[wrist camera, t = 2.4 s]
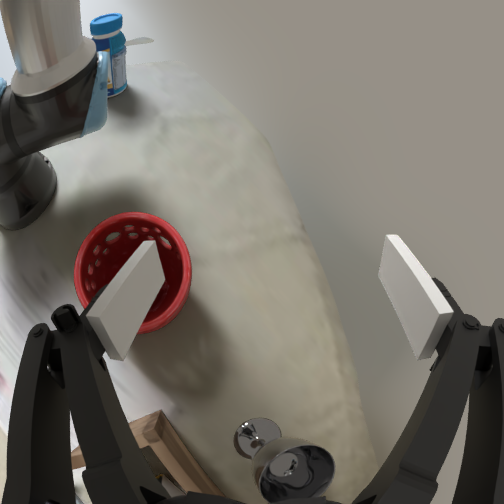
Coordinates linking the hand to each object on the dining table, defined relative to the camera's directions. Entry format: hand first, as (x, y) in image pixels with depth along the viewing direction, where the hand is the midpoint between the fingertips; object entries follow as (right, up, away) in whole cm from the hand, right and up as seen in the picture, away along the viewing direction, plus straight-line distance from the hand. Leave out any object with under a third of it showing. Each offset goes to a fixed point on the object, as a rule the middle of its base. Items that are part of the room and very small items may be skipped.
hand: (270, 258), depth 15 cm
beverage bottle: (-34, +38, +34) cm, 61 cm away
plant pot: (-16, -5, +21) cm, 27 cm away
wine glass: (0, -27, +17) cm, 32 cm away
